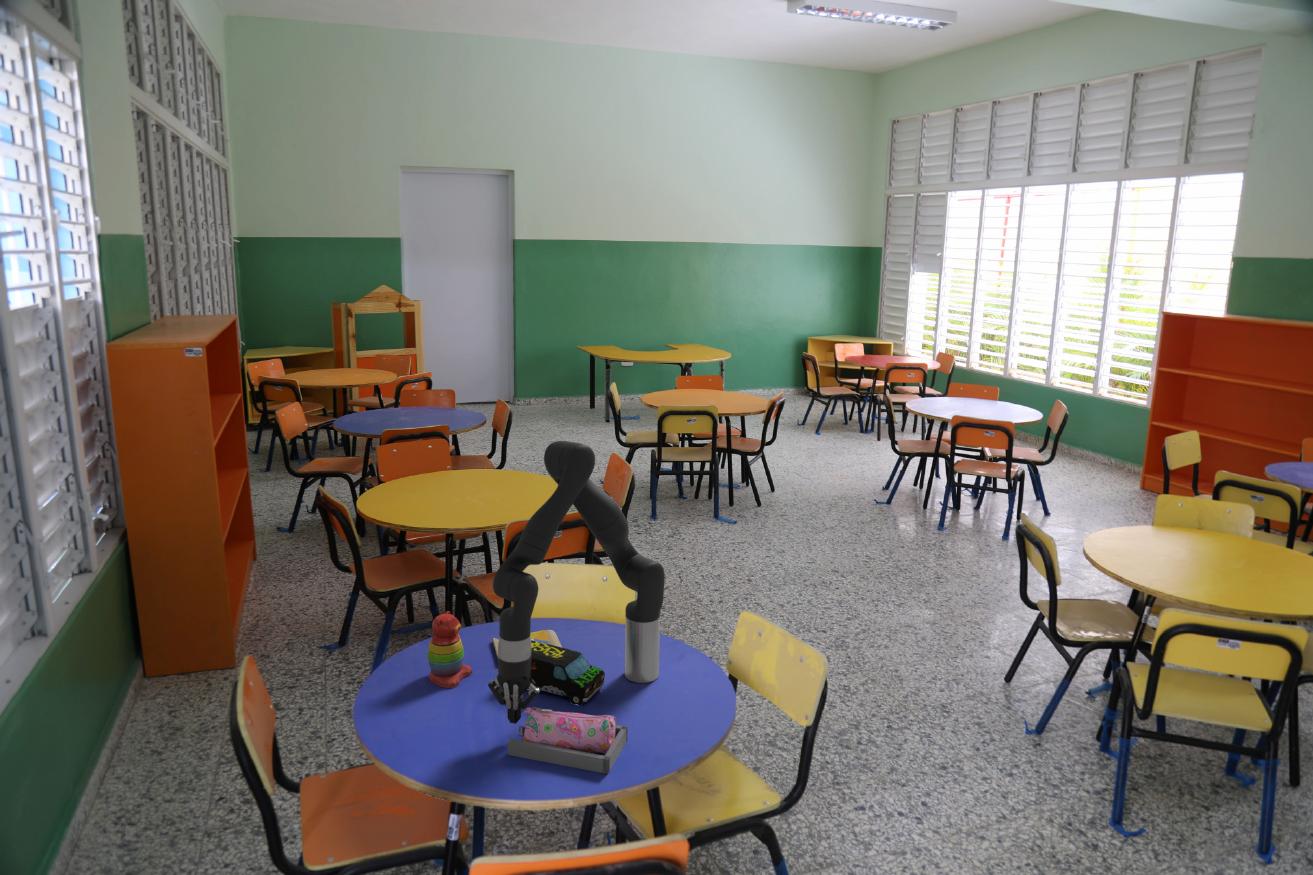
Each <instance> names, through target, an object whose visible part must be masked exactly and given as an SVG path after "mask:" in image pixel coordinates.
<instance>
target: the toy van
mask: <svg viewBox="0 0 1313 875" xmlns="http://www.w3.org/2000/svg"><path fill="white" fill-rule="evenodd" d="M605 677H606V674H605V671H604V669H602V668H599V667H596V666H595V665H592V664H590V663H589V661H588V659H586V657H585V656H584V655H583V653H581V652H580V651H578V650H572V649H570V648H565V647H563V646H562V647H558V646H554V645H550V644H546V643H542V642H537V641H533V640H531V678H532V681H533V682H532V684H533V685H534V686H535V687H536V688H537V687H540V688H541V691H543V692H547V693H550V694H554V695H559V696H562V697H566V698H568V699H569V703H570V704H571V703H572V705H574V704H578V705H580V706H579V707H582V706H583V705H585V704H584V703H586V702H588V701H589V700H590V699H591V698H592V697H593V696H594V695H595V694H596V693H598V691H600V690H601V689H602V687H603V686H604V685H605V682H606V681H605ZM528 689H529V688H528Z"/></svg>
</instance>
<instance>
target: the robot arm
mask: <svg viewBox="0 0 1313 875" xmlns="http://www.w3.org/2000/svg"><path fill="white" fill-rule="evenodd" d="M543 464H544V467H545V470H546V471H547V473H548V474H549V476H550V477H551V479H552V480H554V482H555V484H557V487H556V489H555V491H553V493H552V494H551V496H550V497H549V498H548V499H547V500H546V501H545V502H544V503H543V504H542V505H541V507H539V508H538V509H537V510H536V511H535V512H534V514H532V516H530V518H529V520H528V521H527V523H526V525H524V528H523V531H522V533H521V535H520V538H519V539H518V542H517V543H516V547H515V548H513V550H512V551H511V552H510V554H509V555H508V556H507V557H506V559H505V560H504V562H502V564H501V565H500V566H499V568H498V569H497V571H496V572H495V574H494V577H493V581H492V590H493V593H494V594H495V595H496V596H497V597H499V598H501V599H503V600H504V599H505V600H507V601H510V602H512V603H513V607H507V608H504V609H503V610H502V611H501V613H500V614H499V622H498V623H499V628H498V629H499V632H498V633H499V638H498V639H499V643H498V657H497V672H498V673H497V675H496V678H493V679H491V681H489V682H488V684H487V686H488V688H489V690H490V691H491V693H492V694H493V695H494V697H495V698H496V700H497V701H498V704H500V706H503V705H504V706H506V710H507V721H509V723H510V724H514V725H516V724H517V723H518V722H519V721H520V720H521V718H522V710H525V709H526V708H527V706H528V705H529V704H530V703H531V702H532V701H533V700H534V699H535V698H536V697H537V696H538V695H539V693H540V692H541V691H542V690H541V688H540V687H537V688H536V687H535V686H534V685H533V684H532V682H533V681H532V678H531V636H530V633H531V622H532V621H531V618H532V614H533V613H534V610H535V606H536V602H537V598H538V595H539V584H538V580H537V579H536V577H535V576H534V575H532V573H531V574H530V573H528V572H525V570H526V568H528V567H529V566H538V565H541V564H543V562H544V561H545V558H546V556H547V554H548V551H549V549H550V547H551V545H552V542H553V540H554V538H555V536H556V533H557V532H558V529H559V527H560V526H561V524H562V522H563V520H564V519H565V518H566V515H567V514H568V512H569V511H570V509H571V507H572V506H574V508H575V509H576V511H577V513H578V514H579V515H580V517H581V518H582V519H583V521H584V523H585V525H586V526H587V528H588V530H590V533H591V534H592V535H593V537H594V538H595V540H596V541H597V542H598V544H599V546H600V547H601V548H602V549H603V550H604V552H605V554H606V555H607V557H608V559H609V560H610V562H611V564H612V566H613V568H614V570H615V572H616V574H617V576H618V578H619V580H620V581H621V584H623V586H625V587H626V588H628V589H630V590H631V591H634V592H636V594H637V595H636V599H635V600H632V601H630V602H628V603H627V604H626V606H625V621H624V622H625V624H624V625H625V627H624V628H625V632H624V633H625V635H624V636H625V637H624V638H625V639H624V641H625V642H624V676H625V678H626V680H628V681H631V682H633V683H639V684H645V683H650V682H653V681H655V680H657V679H658V678H659V674H660V673H659V672H660V634H661V633H660V628H661V627H660V626H661V624H660V623H661V622H660V621H661V611H662V607H663V604H664V596H665V595H664V592H665V584H666V583H665V581H666V580H665V578H666V576H665V569H664V567H663V565H662V564H661V563H660V562H658V561H657V560H656V561H655V560H653V559H651V558H648V557H646V556H643V555H642V554H640V553H639V552H638V551H637V550H636V548H635V547H634V545H633V544H632V543H631V541H630V539H629V533H630V532H629V522H628V520H627V518H626V516H625V514H624V513H623V511H622V510H621V507H619V505H618V503H617V502H616V501H615V500H614V499H613V498H612V496H610V495H609V494H608V493H606V492H605V491H604V490H603V489H602V488H601V487H600V486H598V485H597V484H596V483H595V482H593V481H592V480H591V479H590V477H591V475H592V473H594V472H593V471H594V469H595V465H596V455H595V452H594V450H593V449H592V447H590V445H588V444H584V443H580V442H573V441H567V440H558V441H556V440H555V441H553V442H551V443H549V445H548V446H547V447H546V448H545V451H544V453H543ZM528 688H529V690H528V691H527V692H528V696H527V697H526V698H525V699H523V698H524V696H525V695H524V694H525V693H526V690H527V689H528Z"/></svg>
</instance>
